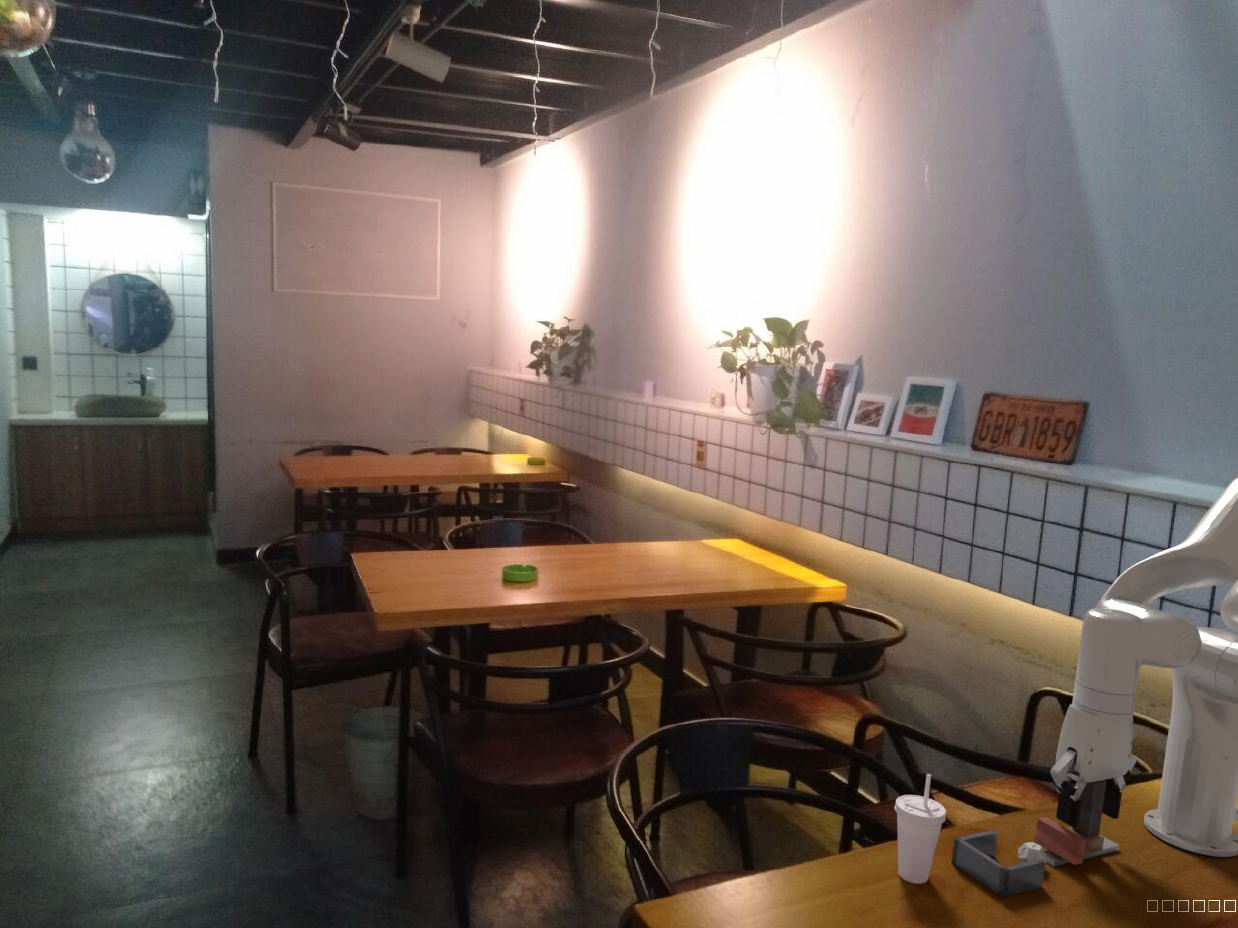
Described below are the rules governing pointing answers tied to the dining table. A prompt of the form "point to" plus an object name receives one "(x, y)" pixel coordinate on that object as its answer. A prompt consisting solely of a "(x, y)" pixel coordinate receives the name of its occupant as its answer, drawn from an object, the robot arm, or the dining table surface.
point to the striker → (1078, 839)
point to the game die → (1031, 852)
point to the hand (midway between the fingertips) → (1087, 817)
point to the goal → (995, 865)
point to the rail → (1107, 848)
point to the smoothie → (917, 834)
